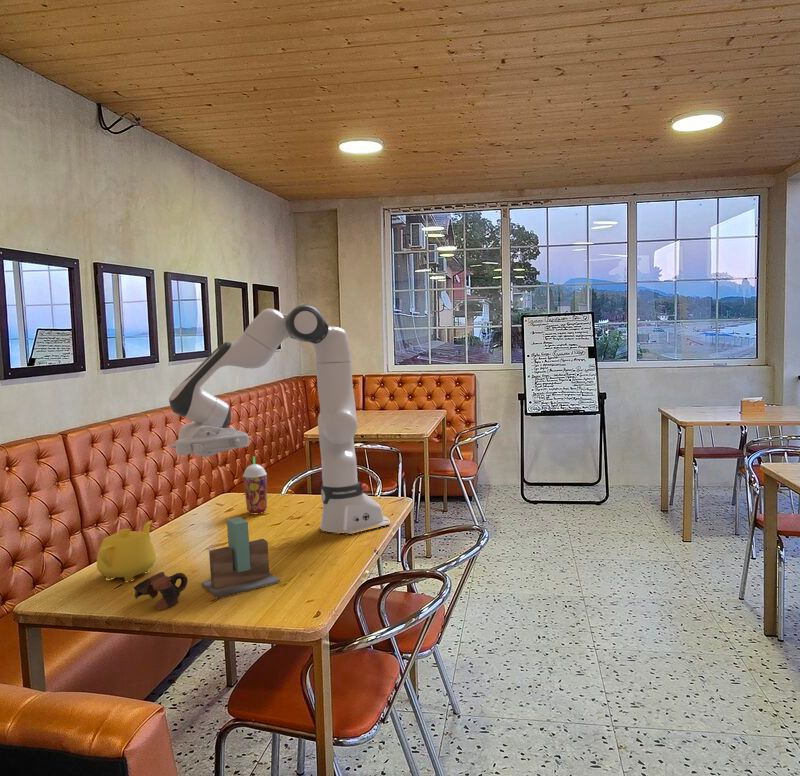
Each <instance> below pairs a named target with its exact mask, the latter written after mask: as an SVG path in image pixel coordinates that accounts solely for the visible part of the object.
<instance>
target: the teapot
mask: <svg viewBox="0 0 800 776" xmlns="http://www.w3.org/2000/svg"><path fill="white" fill-rule="evenodd" d="M152 523H153V520H149V521H147V522H146V523H145V524H144V526H143V528H142V531H135V530H133V531H132V530H131V528H121V529H119V530H118V531H117V532H116V533H114V534H110V535H109V536H106V537H104V538H103V540H102V542H101V544H100V547H99V549H98V553H97V557H96V569H97V571H98V572H99V573H100V574H101V575H102V576H105V579H106V578H107V579H111V578H114V577H116V578H123V579H124V580H125V581H131V580H133V579H135V576H138V575H141V573H145V572H148V571H149V570H150V569H151V568H153V566H155V565H154V564H155V563H156V559H157V555H156V550H155V547H154V545H153V543H152V541H151V535H150V528H151V525H152ZM145 574H146V573H145ZM131 582H132V581H131Z"/></svg>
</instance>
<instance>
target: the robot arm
mask: <svg viewBox="0 0 800 776" xmlns="http://www.w3.org/2000/svg"><path fill="white" fill-rule="evenodd" d="M288 338H290V339H294V340H296V341H299V342H304V343H306V342H307V343H311V344H312V345H313V348H314V352H315V362H316V363H315V366H316V367H315V369H316V382H317V383H316V385H317V395H318V401H319V402H318V403H319V414H318V416H317V426H318V427H317V428H318V439H319V440H318V441H319V451H320V460H321V474H322V475H321V479H322V480H321V481H322V484H321V490H320V491H321V492H320V494H321V502H322V513H321V521H320V526H319V529H320V528H321V529H322V530H324V531H328V532H344V533H353V532H357V531H361V530H364V529H368V528H371V527H376V526H381V525H384V524H389V523H390V524H391V520H390V518H389V517H387V516H386V515H384V514H383V509H382V506H381V504H379V503H378V502H377V501H376V500H374V499H373V498H372V497H370V496H369V495H367V494H366V493H364V492H367V491H368V490H369V485H367V484H366V483H362V482H360V481H358V467H357V464H358V463H357V456H356V455H357V454H356V449H355V442H354V437H355V435H356V434H357V431H358V417H357V416H358V415H357V409H356V407H357V406H356V401H355V400H356V399H355V393H354V386H353V383H354V382H353V368H352V367H353V366H352V365H353V364H352V353H351V346H350V341H349V337H348V333H347V332H346V330H345V329H343V328H341V327H338V326H333V325H331V326H330V325H329V324H328V323H327V321H326V320H325V318H324V316H323V315H322V313H321V312H320V310H319V309H317V308H316V307H315V306H312V305H309V304H302V305H298V306H296V307H295V308H293V309H292V310H290V312H289V313H282V312H281V311H279V310H277V309H274V308H266V309H262V310H261V311H260V312H259V314H257V315H256V316H255V318H254V319H252V321H251V322H250V323H249V324H248V326H247V327H246V329H245V330H244V332H243V333H241V335H240V336H239V337H238V338H237V339H235V340H233V341H231V342H229V341H228V342H227V341H226V342H223V343H222V344H221V345H219V346H218V347H217V348H216V349H215V350H213V351H212V352H211V353H210V355H208V356H207V357H206V359H204V360H203V361H202V362H201V364H199V365H198V367H197V368H196V369H194V371H193V372H192V373H191V374H190V375H188V377H187V378H186V379H184V380H183V381H182V382H181V383H180V384H178V385H177V386H176V387H175V389H174V390H173V391H172V392H171V394H170V396H169V397H168V400H169V401H168V402H169V406H170V408H171V411H172V412H173V413H174V414H177V415H179V416H181V417H184V418H186V419H188V420H191V422H189V423H186V424H183V426H181V427H180V429H179V431H178V436H177V437H178V438H177V439H176V440H175V442H174V443H173V444H172V443H171V444H170V448H171V449H175V454H176V455H178V456H186V455H194V454H195V455H198V456H199V457H203V458H208V457H212V456H214V455H217V454H219V453H221V452H222V453H223V452H225V451H232V450H234V449H238V448H247V447H249V445H250V438H249V433H247V432H244V431H241V430H237V429H235V427H233V426H230V427H229V425H230V422H231V419H232V411H231V407H230V404H229V403H227V402H226V401H223V400H222V399H220V398H219V397H217V396H215V395H213V394H211V393H209V392H208V391H206V390H205V389H203V388H202V386H203V385H204V384H205V383H206V382H207V381H208V380H209V379H210V378H211V377H212V376H213V375H214V374H215V372H217V371H218V370H219V369H221V368H223V367H227V366H228V367H229V366H230V367H231V366H232V367H236V368H237V367H238V368H242V369H257V368H262V367H264V366H265V365H266V364H267V363H268V362H269V361H270V359H272V357H273V355H274V354H275V353H276V351H277V349H278V348H279V347H280V345H281V344H282V343H283V341H285V340H286V339H288ZM383 515H384V516H383ZM384 520H388V521H384ZM322 530H321V531H322ZM324 531H323V532H324Z"/></svg>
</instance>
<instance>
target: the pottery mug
mask: <svg viewBox="0 0 800 776" xmlns="http://www.w3.org/2000/svg"><path fill="white" fill-rule="evenodd" d="M179 579H180V584H179V586H177V585H176V584H177V581H178V580H179ZM187 585H188V577H187V575H186V574H185V573H183V572H177V573H175V574H173V575H169V576H168V575H165V572H164V571H160V572H158V573H156V574H153V575H151V576H149V577H147V578H146V579H144V580H142V581H140V582H139V583H137V584H136V585H135V586H133V590H134V591H135V594H134V599H136V600H138V598H139V597H141V596H148V595H149V597H150V598H152V599H154V598H155V597H157V596H158V595H159V593H160V594H161V596H162V597H161V599H159V600H158V601H156V602H155V606H156V607H157V609H158V611H159V612H161V611H164V610H166V609H168V607H171V606H174V605H176V604H178V603H179V597H180V595H181V593H182V592H183V591H184V590H185V589H186V587H187ZM153 597H154V598H153Z"/></svg>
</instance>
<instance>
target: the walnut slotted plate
mask: <svg viewBox="0 0 800 776" xmlns="http://www.w3.org/2000/svg"><path fill="white" fill-rule="evenodd" d="M268 544H269V543H268V541H267V540H266V539H264V538H260V539H256V540H251V541H250V540H249V550H250V566H251V569H250V570H246V571H242V572H237V571H236V570H235V569H233V559H232V549H231V548H229V546H224V547H220V548H219V547H218V548H214V549H211V550H208V553H209V554H208V555H209V556H208V557H209V572H210V579H209V580H204V581H202V582H201V585H202V586H203V587H204V586H205V587H206V588H207V589H208V590H207V589H206V588H205V587H204V588H205V589H206V590H207V591H208V592H209V593H210V594H212V596H213V597H215V598H216V597H217V598H220V599H223V598H222V597H224V598H226V596H227V597H230V596H229V595H231V596H234V595H233V594H235V595H238V594H237V593H239V594H241V592H243V593H246V592H249V590H250V591H253V589H254V590H257V589H256V588H258V589H260V588H259V587H261V588H264V587H263V586H265V587H267V586H266V585H269V586H272V585H271V584H273V585H275V584H274V583H276V584H279V583H278V582H280V583H281V579H279V577H276V576H275V574H273V573H271V572H270V562H269V561H270V560H269V547H268ZM245 591H246V592H245ZM217 598H216V599H217Z"/></svg>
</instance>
